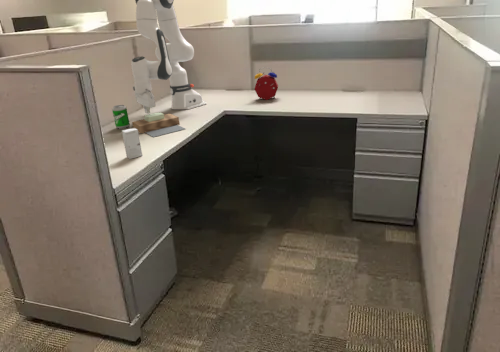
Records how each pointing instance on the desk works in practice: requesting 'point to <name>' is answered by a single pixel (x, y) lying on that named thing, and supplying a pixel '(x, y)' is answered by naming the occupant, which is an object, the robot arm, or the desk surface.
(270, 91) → the alarm clock
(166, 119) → the brown wooden flat block
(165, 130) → the mat
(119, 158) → the desk surface
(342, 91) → the desk surface
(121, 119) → the soda can
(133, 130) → the skincare box
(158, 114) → the mint green box
